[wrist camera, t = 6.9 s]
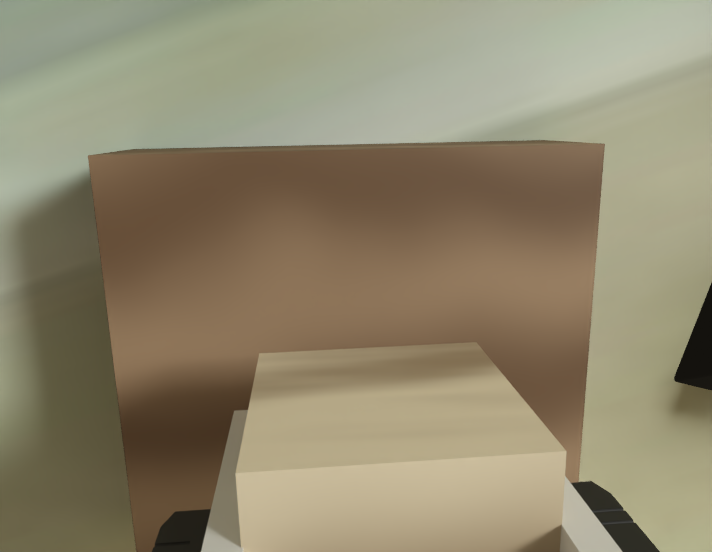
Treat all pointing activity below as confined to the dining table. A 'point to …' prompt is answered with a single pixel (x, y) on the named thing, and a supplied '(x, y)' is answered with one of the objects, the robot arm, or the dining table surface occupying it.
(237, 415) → the robot arm
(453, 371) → the maple cube
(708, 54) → the dining table surface
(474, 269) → the walnut block
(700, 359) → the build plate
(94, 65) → the dining table surface
